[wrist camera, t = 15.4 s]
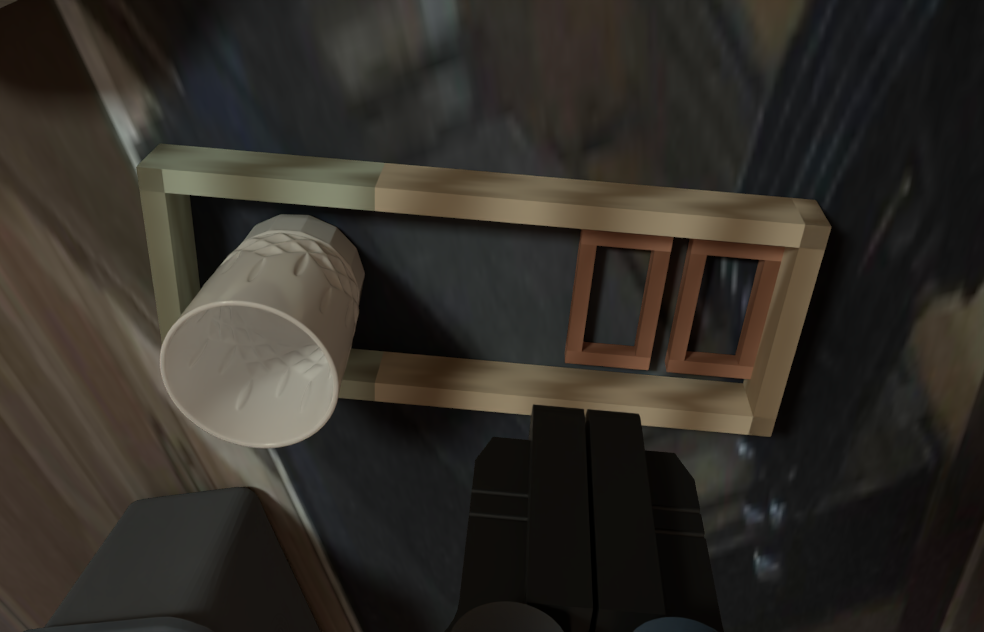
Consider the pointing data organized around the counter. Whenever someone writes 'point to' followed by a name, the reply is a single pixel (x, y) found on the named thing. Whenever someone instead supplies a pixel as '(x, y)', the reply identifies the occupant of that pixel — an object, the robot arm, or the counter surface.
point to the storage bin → (188, 571)
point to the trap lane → (603, 222)
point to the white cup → (268, 335)
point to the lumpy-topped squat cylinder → (6, 2)
